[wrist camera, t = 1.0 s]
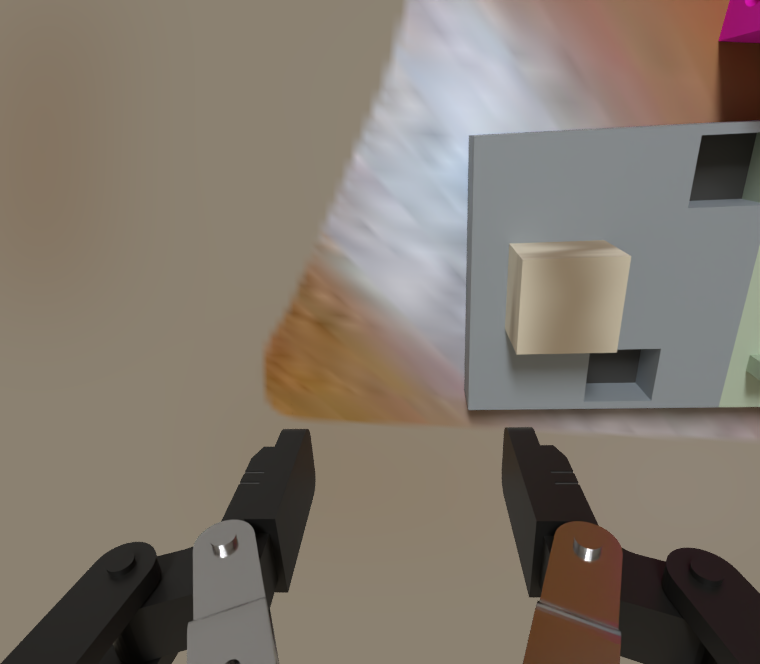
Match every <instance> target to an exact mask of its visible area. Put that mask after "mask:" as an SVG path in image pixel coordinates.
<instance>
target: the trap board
mask: <svg viewBox="0 0 760 664" xmlns="http://www.w3.org/2000/svg"><path fill="white" fill-rule="evenodd" d="M593 240H605V241H607V242H608V243H610V244H612V245H613V246H615V247H617V248H618V249H620V250H622V251H623V252H625V253H627V254H629V255H630V256H631V262H630V269H629V275H628V282H627V288H626V295H625V302H624V308H623V315H622V321H621V328H620V335H619V341H618V348H617V353H573V354H521V355H517V354H516V352H515V350H514V348H513V345H512V343H511V341H510V339H509V337H508V334H507V332H506V330H505V316H506V296H507V277H508V258H509V244H510V243H538V242H565V241H593ZM464 391H465V396H466V401H467V406H468V410H517V409H609V408H701V407H760V120H750V121H732V122H713V123H694V124H675V125H657V126H638V127H619V128H600V129H582V130H563V131H544V132H525V133H507V134H488V135H469V168H468V222H467V276H466V330H465V385H464Z"/></svg>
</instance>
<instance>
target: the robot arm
mask: <svg viewBox="0 0 760 664" xmlns="http://www.w3.org/2000/svg"><path fill="white" fill-rule="evenodd" d="M502 486H503V494H504V498H505V502H506V506H507V510H508V514H509V518H510V522H511V526H512V530H513V534H514V538H515V542H516V546H517V550H518V554H519V558H520V562H521V566H522V570H523V574H524V578H525V582H526V586H527V590H528V594H529V597H540V601H538V602H537V605H536V608H535V612H534V617H533V621H532V625H531V630H530V634H529V639H528V643H527V647H526V652H525V656H524V660H523V664H620V656H622V657H625V658H628V659H631V660H634V661H637V662H640V663H643V664H760V593H759V592H758V591H757V590H756V589H755V588H754V587H753V586H752V585H751V584H750V583H749V582H748V581H747V580H746V579H745V578H744V577H743V576H742V575H741V574H740V573H739V572H738V571H737V570H736V569H735V568H734V567H733V566H732V565H731V564H729V563H728V562H727V561H725V560H724V559H722V558H721V557H718V556H717V555H715V554H712V553H710V552H707V551H704V550H701V549H695V548H680V549H676V550H674V551H672V552H671V553H670V554H669V555H668V557H667V560H666V562H665V561H661V560H657V559H653V558H649V557H645V556H641V555H638V554H635V553H632V552H629V551H627V550H625V549H623V548H621V545H620V544H619V542H618V541H617V539H616V538H615V537H614V536H613V535H612V534H611V533H610V532H608V531H607V530H605V529H604V528H602V527H600V526H599V525H598V524H597V521H596V519H595V517H594V515H593V513H592V511H591V509H590V506H589V504H588V502H587V500H586V498H585V496H584V493H583V491H582V489H581V487H580V485H578V481H577V478H576V476H575V474H574V473H573V470H572V468H571V466H570V464H569V461H568V459H567V457H566V456H565V455H563V454H562V453H561V452H560V451H559V450H558V449H557V448H556V447H554V446H553V445H540V444H539V442H538V439H537V436H536V434H535V431H534V429H533V428H532V427H518V428H505V430H504V442H503V459H502ZM314 491H315V468H314V460H313V452H312V444H311V436H310V432H309V430H308V429H283V430H282V431H281V433H280V436H279V438H278V440H277V443H276V445H275V447H263V448H262V449H261V450H260V451H259V452H258V453H257V454H256V455H255V456H253V458H251V461H250V463H249V465H248V467H247V469H246V471H245V474H244V475H243V477H242V479H241V481H240V484H239V486H238V488H237V490H236V492H235V494H234V496H233V498H232V500H231V502H230V505H229V506H228V508H227V511H226V513H225V515H224V517H223V519H222V521H221V522H219V523H217V524H214V525H213V526H211V527H209V528H207V529H206V530H205V531H204V532H203V533H201V535H200V536H199V537H198V538H197V540H196V541H195V543H194V546H193V547H191V548H188V549H185V550H181V551H177V552H173V553H169V554H165V555H161V556H157V555H156V552H155V550H154V548H153V547H152V546H151V545H149V544H147V543H143V542H132V543H127V544H123V545H121V546H118V547H116V548H114V549H112V550H110V551H109V552H107V553H106V554H104V555H103V556H102V557H100V559H98V560H97V561H96V562H95V563H94V564H93V566H92V567H91V568H90V569H89V570H88V571H87V572H86V573H85V574H84V575H83V576H82V577H81V578H80V579H79V580H78V582H77V583H76V584H75V585H74V586H73V587H72V588H71V589H70V590H69V591H68V592H67V593H66V594H65V595H64V597H63V598H62V599H61V600H60V601H59V602H58V603H57V604H56V605H55V606H54V607H53V608H52V609H51V611H49V613H48V614H47V615H46V616H45V617H44V618H43V619H42V620H41V621H40V622H39V623H38V624H37V625H36V626H35V627H34V629H33V630H32V631H31V632H30V633H29V634H28V635H27V636H26V637H25V638H24V639H23V641H21V642H20V643H19V645H18V646H17V647H16V648H15V649H14V650H13V651H12V652H11V653H10V654H9V655H8V656H7V657H6V659H5V660H4V661H3V662H2V663H1V664H172V662H173V661H174V659H175V657H176V656H177V654H178V652H180V651H184V650H187V664H279V659H278V653H277V648H276V641H275V635H274V629H273V624H272V618H271V612H270V605H271V602H272V599H273V595H274V592H288V590H289V587H290V583H291V579H292V576H293V571H294V568H295V564H296V560H297V556H298V553H299V549H300V545H301V541H302V538H303V533H304V530H305V526H306V522H307V519H308V515H309V511H310V507H311V504H312V500H313V496H314Z"/></svg>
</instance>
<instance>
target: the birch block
mask: <svg viewBox="0 0 760 664" xmlns="http://www.w3.org/2000/svg"><path fill="white" fill-rule="evenodd" d="M630 262H631V256H630V255H629V254H627V253H625V252H623V251H622V250H620V249H618V248H617V247H615V246H613V245H612V244H610V243H608V242H607V241H605V240H593V241H565V242H538V243H510V244H509V258H508V277H507V296H506V316H505V330H506V332H507V334H508V337H509V339H510V341H511V343H512V345H513V348H514V350H515V352H516V354H517V355H521V354H573V353H617V348H618V341H619V335H620V328H621V321H622V315H623V308H624V302H625V295H626V288H627V282H628V275H629V269H630Z"/></svg>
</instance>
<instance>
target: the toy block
mask: <svg viewBox="0 0 760 664" xmlns="http://www.w3.org/2000/svg"><path fill="white" fill-rule="evenodd" d="M719 41H724V42H745V43H760V0H730V2H729V5H728V9H727V12H726V16H725V20H724V23H723V27H722V30H721V34H720V37H719Z"/></svg>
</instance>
